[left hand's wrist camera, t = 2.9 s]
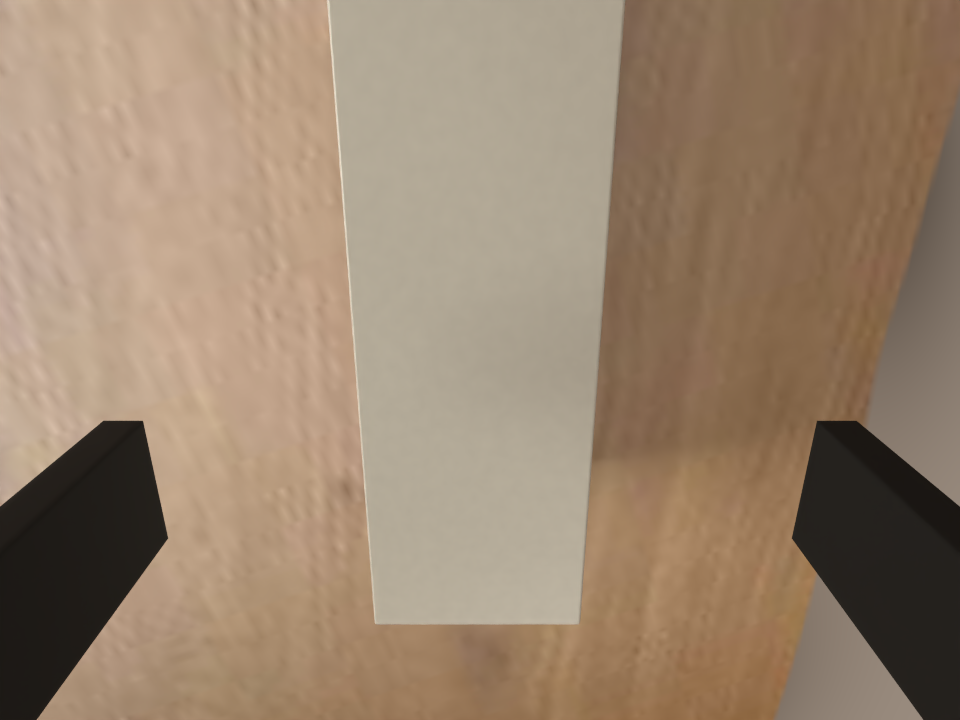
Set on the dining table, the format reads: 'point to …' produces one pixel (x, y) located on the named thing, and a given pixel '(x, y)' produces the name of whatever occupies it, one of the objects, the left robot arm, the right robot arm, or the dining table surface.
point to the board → (476, 292)
